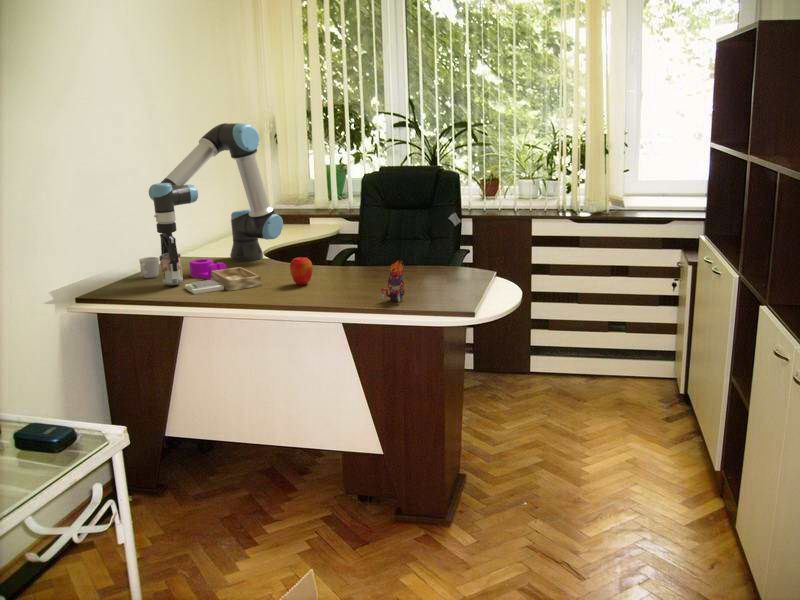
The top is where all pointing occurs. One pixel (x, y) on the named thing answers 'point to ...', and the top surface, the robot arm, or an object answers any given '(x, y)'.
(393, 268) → the figurine
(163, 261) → the beverage can
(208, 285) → the grey square pad
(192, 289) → the checker base
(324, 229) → the top surface
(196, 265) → the magenta pipe bracket
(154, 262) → the cup
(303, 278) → the apple
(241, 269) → the trough board
